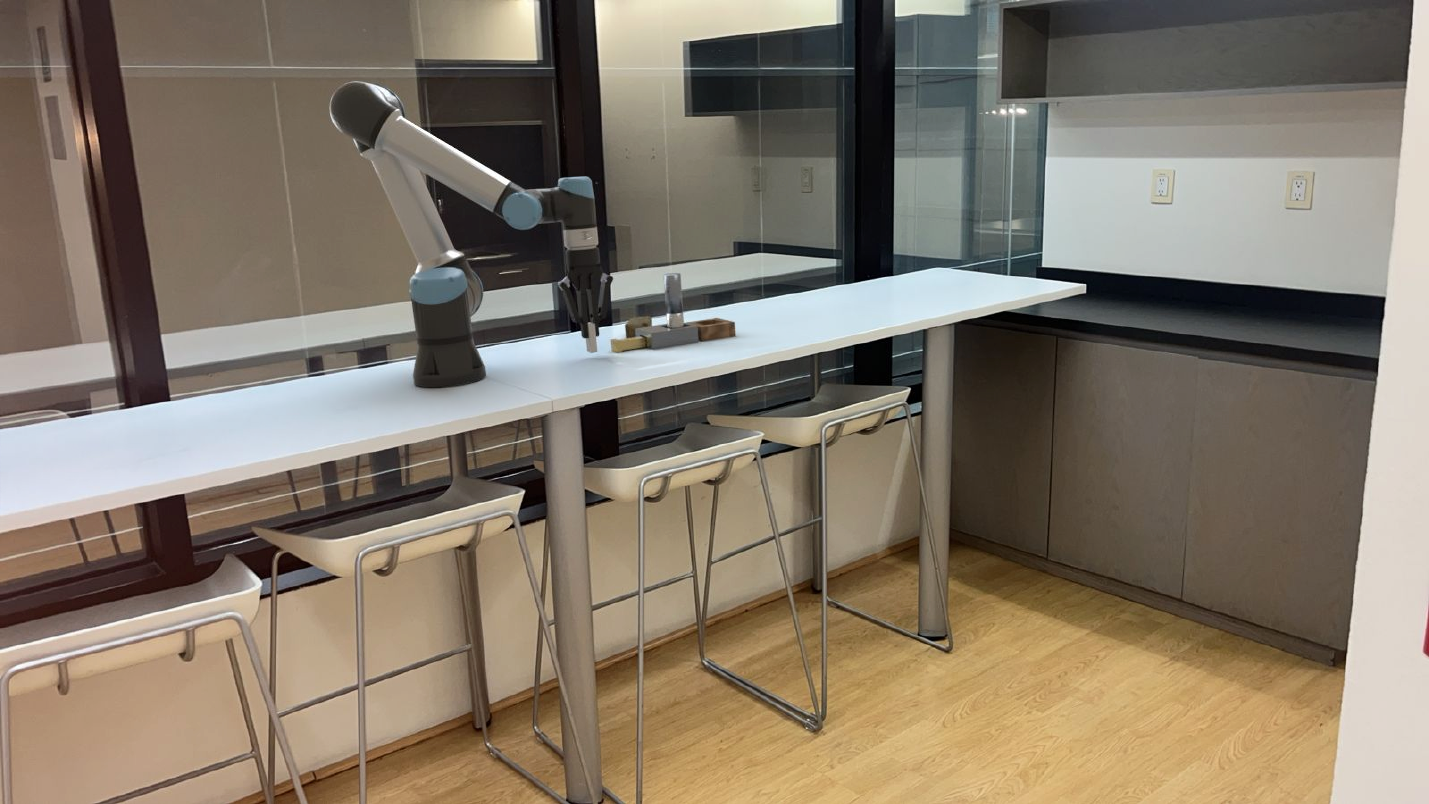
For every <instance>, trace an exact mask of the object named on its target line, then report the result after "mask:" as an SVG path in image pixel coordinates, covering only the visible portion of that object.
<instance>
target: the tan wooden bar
mask: <svg viewBox="0 0 1429 804" xmlns="http://www.w3.org/2000/svg"><path fill="white" fill-rule="evenodd" d="M610 348H611V349H610V350H611V352H612V353H616V354H618V353H623V352H624V351H628V350H636V349H641V348H647V338H646V336H639V337H633V338H626V337H625V338H622V339H618V338H612V339H610Z"/></svg>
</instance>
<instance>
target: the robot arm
mask: <svg viewBox="0 0 1429 804" xmlns="http://www.w3.org/2000/svg"><path fill="white" fill-rule="evenodd" d="M405 111H406V110H405V107H404V104H403V103H402V101H401V99H400V98H399V97H398V96H397V94H396V93H394V92H393V91H392V90H391V89H389V88H388V87H386V86H384V85H380V84H377V83H370V82H364V81H357V80H356V81H354V80H353V81H349V82H346V83H344V84H342V85H341V86H339V87H338V88H337V89H336V90H335V91H334V93H333V94H332V96H331V98H330V102H329V115H330V118H331V121H332V123H333V124H334V126H335V127H336V129H338V130H339V131H340V133H342V134H343V135H345V136H346V137H348V138H350V139H353V141H354V144H355V146H356V148H357V151H358V153H359V155H360V157H362V158H364V159H366V160H369V162H371V163H372V166H373V168H374V170H375V172H376V175H377V177H378V179H379V181H380V183H381V186H382V188H383V190H384V192H385V194H386V196H387V199H388V201H389V203H390V205H391V207H392V209H393V212H394V214H395V216H396V218H397V220H398V223H399V225H400V228H401V229H402V231H403V234H404V236H405V239H406V240H407V243H408V245H409V247H410V250H411V251H412V254H413V256H414V258H415V260H416V262H417V266H416V270H415V272H414V274H413V275H412V276H411V277H410V279H409V296H410V300H411V307H412V314H413V322H414V328H415V335H416V343H417V344H416V345H417V350H416V357H415V361H414V362H415V363H414V367H413V371H412V372H413V373H412V376H413V384H414V385H415V386H417V387H421V388H444V387H445V388H446V387H447V388H448V387H454V386H455V387H456V386H461V385H466V384H471V383H474V382H477V381H481V380H483V379H485V378H486V377H487V374H486V366H485V364H484V363H485V362H483V359H482V357H481V355H480V353H479V350H478V349H477V347H476V344H475V340H474V336H473V335H474V334H473V328H472V327H473V326H472V319H471V317H472V316H474V314H476V313H477V312H478V310H479V308H480V307H481V305H482V302H483V299H484V288H483V287H484V286H483V283H482V281H481V279H480V278H479V276H478V274H477V273H475V271H473V269H472V268H471V266H470V264H469V262H468V260H467V258H466V256H465V253H464V252H461V251H459V250H456V249H455V247H454V245H453V243H452V241H451V238H450V236H449V234H448V232H447V229H446V228H445V225H444V223H443V221H442V219H441V216H440V214H439V212H438V211H439V210H438V209H437V207H436V205H435V202H434V201H433V198H432V197H431V193H430V192H429V189H428V187H427V185H426V183H425V180H424V178H423V176H422V174H421V172H422V173H424V174H426V175H428V176H429V177H431V178H432V179H434V180H436V181H438V182H440V183H441V184H443V185H445V186H446V187H448V188H450V189H451V190H453V191H455V192H457V193H458V194H460V195H461V196H463V197H465V198H467V199H469V200H470V201H472V202H474V203H476V204H478V205H479V206H481V207H482V208H484V209H486V210H488V211H490V212H491V213H493V214H495V215H496V216H497V217H500V218H501V219H503V220H505V222H506V223H507V224H508V225H509V226H511V227H512V228H513V229H516V230H521V231H524V230H525V231H526V230H530V229H532V228H534V227H536V226H537V225H539V224H551V223H559V222H560V223H562V233H563V242H564V243H563V245H564V247H565V248H566V250H565V252H564V253H565V262H566V272H565V277H564V278H562V280H559V281H557V283H556V286H557V287H558V288H559V289H560V291H561V293H562V296H563V298H564V299H563V300H564V301H565V304H566V308H567V310H568V313H569V316H570V319H571V321H572V322H573V323H578V324H579V325H580V332H581V338H582V339H585V345H586V351H587V352H588V353H590V354H592V353H598V344H597V337H600V327H599V323H600V322H601V321H602V320H605V319H606V318H607V312H608V304H609V295H610V287H611V285H612V282H613V280H614V277H613V276H612V275H608V274H606V273H604V269H603V268H602V266H601V257H600V248H599V247H597V246H598V245H599V236H598V234H599V233H598V226H597V225H598V224H597V216H596V215H597V214H596V204H595V200H596V199H595V194H594V188H593V181H592V179H591V178H590V177H589V176H571V177H561V178H559V179H558V181H557V186H555V187H551V188H533V189H524V188H523V187H521V186H520V185H518V184H516V183H515V182H512V181H511V180H510V179H507V178H505V177H504V176H503V175H501V174H499V173H497V172H496V171H494V170H492V169H491V168H489V167H487V166H485V165H484V164H482V163H480V162H479V161H477V160H475V159H473V158H472V157H470V156H468V155H467V154H465V153H464V152H462V151H459V150H458V149H457V148H454V147H453V146H452V145H449V144H448V143H446V142H445V141H443V140H441V139H439V138H437V137H436V136H434V135H433V134H431V133H430V132H428V131H427V130H425V129H423V128H421V127H419V126H418V125H415V124H414V123H412V122H411V121H409V120H407V119H406V112H405ZM420 171H421V172H420ZM599 282H601V283H600V287H599V288H600V289H599V296H598V298H597V289H598V287H597V285H598V284H599ZM570 284H571V285H572V287H573V288H574V289H575V294H576V300H577V302H575V300H574V296H573V294H572V291H571V289H570V287H571V285H570ZM586 295H587V296H586ZM576 303H577V306H576ZM587 303H588V305H587ZM587 306H588V308H587ZM588 314H589V316H588ZM589 321H590V322H589Z"/></svg>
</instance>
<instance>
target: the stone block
mask: <svg viewBox="0 0 1429 804" xmlns="http://www.w3.org/2000/svg"><path fill="white" fill-rule="evenodd" d="M649 326H653V319H652V316H649V315H646V316H637V317H632V318H629V319H628V321H627V323H625V324H624V329H625V339H626V338H633V337H636V334H635V329H636V328H643V327H649Z"/></svg>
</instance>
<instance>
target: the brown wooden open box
mask: <svg viewBox="0 0 1429 804" xmlns="http://www.w3.org/2000/svg"><path fill="white" fill-rule="evenodd" d="M685 323H687V324H691V325H695V326H698V341H699V342H708V341H715V340H721V339H729V338H734V337H736V322H735V321H733V320H727V319H723V318H720V317H719V318H718V317H714V318H708V319H707V318H706V319H701V320H695V321H688V322H685Z"/></svg>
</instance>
